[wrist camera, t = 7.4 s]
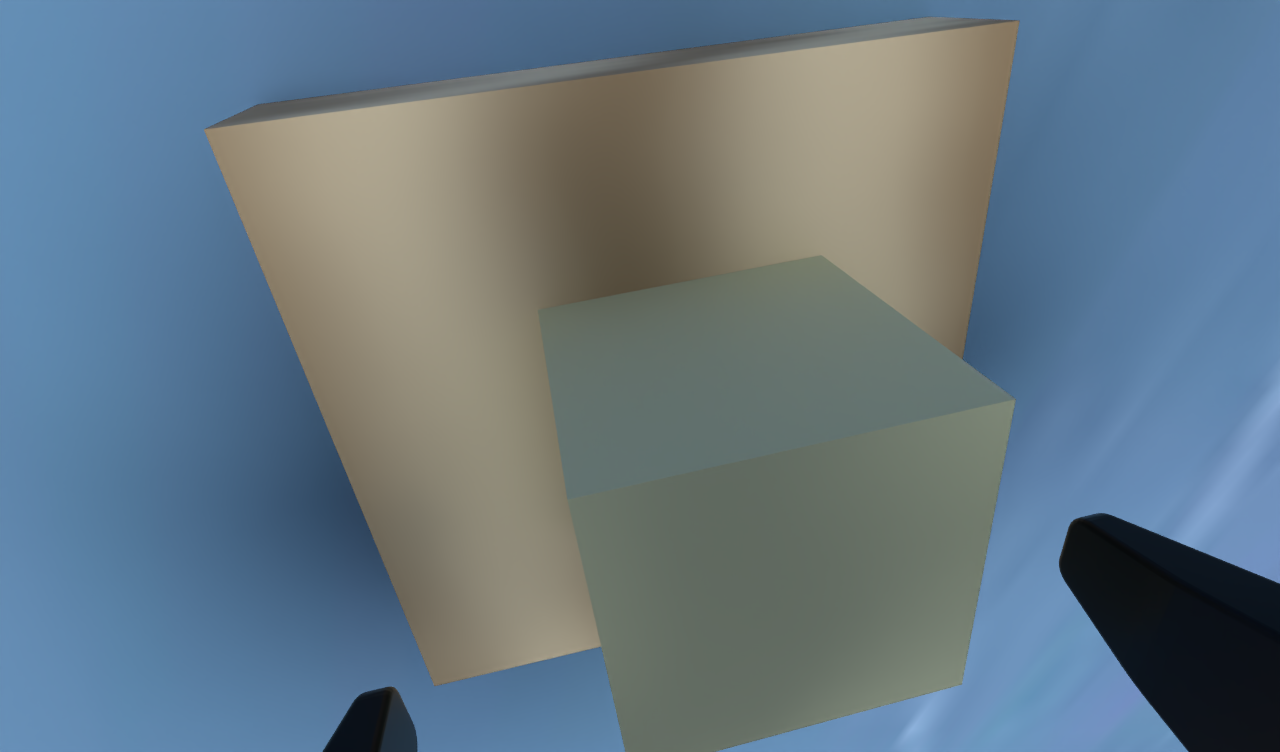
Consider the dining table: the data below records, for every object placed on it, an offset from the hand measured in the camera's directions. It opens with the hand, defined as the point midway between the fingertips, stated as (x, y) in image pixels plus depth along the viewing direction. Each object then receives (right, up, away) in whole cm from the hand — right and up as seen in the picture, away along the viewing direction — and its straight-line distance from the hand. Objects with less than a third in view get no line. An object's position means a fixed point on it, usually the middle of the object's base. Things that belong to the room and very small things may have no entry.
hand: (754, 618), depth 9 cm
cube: (0, +3, +4) cm, 5 cm away
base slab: (-1, +4, +7) cm, 8 cm away
